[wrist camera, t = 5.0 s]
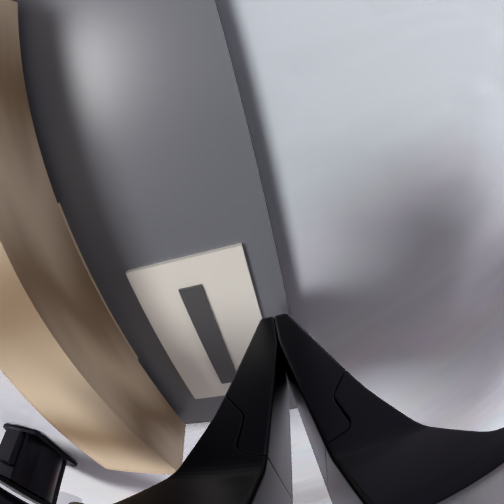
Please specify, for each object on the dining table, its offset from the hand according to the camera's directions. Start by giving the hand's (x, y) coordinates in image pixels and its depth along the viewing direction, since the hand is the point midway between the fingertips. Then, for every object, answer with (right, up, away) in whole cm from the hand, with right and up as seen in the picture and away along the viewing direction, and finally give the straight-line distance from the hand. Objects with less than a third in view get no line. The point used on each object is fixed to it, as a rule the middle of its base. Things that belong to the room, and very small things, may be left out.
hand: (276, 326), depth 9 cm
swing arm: (-9, +2, -1) cm, 9 cm away
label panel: (-9, +3, 0) cm, 9 cm away
